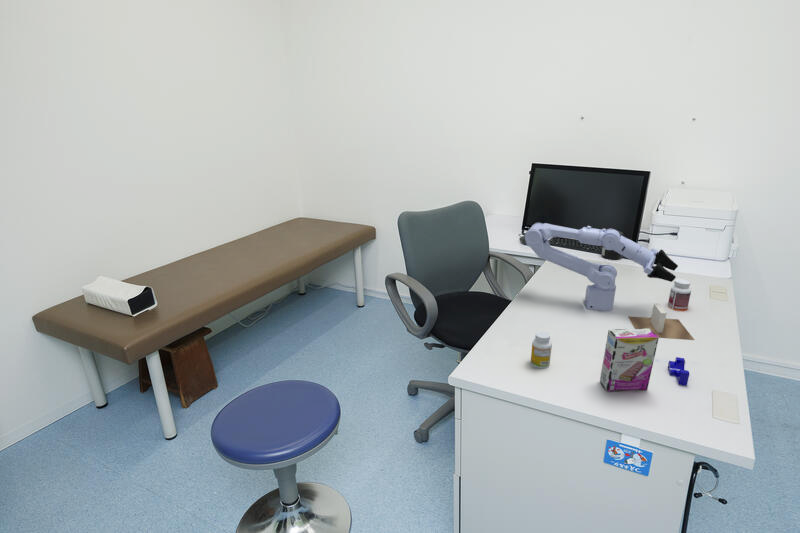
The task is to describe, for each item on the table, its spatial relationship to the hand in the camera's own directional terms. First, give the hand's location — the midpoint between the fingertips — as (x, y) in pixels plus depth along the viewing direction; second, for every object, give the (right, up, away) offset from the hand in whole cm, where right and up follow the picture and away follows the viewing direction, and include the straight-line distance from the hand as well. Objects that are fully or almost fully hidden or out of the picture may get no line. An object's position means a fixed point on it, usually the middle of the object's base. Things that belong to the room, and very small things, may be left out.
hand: (674, 273), depth 152 cm
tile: (-7, -18, -1) cm, 19 cm away
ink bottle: (+9, +7, +65) cm, 66 cm away
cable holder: (-14, -28, -24) cm, 40 cm away
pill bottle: (+8, -13, +13) cm, 21 cm away
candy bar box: (-31, -30, -28) cm, 51 cm away
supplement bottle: (-50, -26, -17) cm, 59 cm away
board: (-6, -19, 0) cm, 19 cm away
